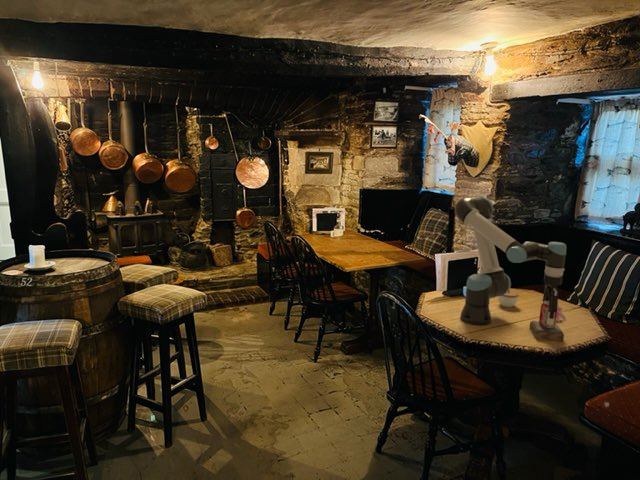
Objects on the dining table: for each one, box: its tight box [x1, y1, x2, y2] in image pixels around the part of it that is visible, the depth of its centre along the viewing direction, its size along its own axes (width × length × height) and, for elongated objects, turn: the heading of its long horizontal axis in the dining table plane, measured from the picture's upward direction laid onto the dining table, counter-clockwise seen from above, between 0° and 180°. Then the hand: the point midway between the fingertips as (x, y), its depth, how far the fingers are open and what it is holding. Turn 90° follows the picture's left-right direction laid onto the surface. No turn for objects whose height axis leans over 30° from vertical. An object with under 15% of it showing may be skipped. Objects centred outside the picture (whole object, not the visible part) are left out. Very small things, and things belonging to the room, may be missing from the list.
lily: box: [556, 303, 567, 323], centre depth 229 cm, size 12×12×10 cm
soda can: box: [538, 300, 557, 328], centre depth 207 cm, size 7×7×12 cm
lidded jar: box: [497, 289, 520, 308], centre depth 247 cm, size 11×11×9 cm
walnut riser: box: [528, 320, 565, 342], centre depth 209 cm, size 12×12×4 cm
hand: (547, 320), depth 208 cm, fingers open, 8 cm apart
